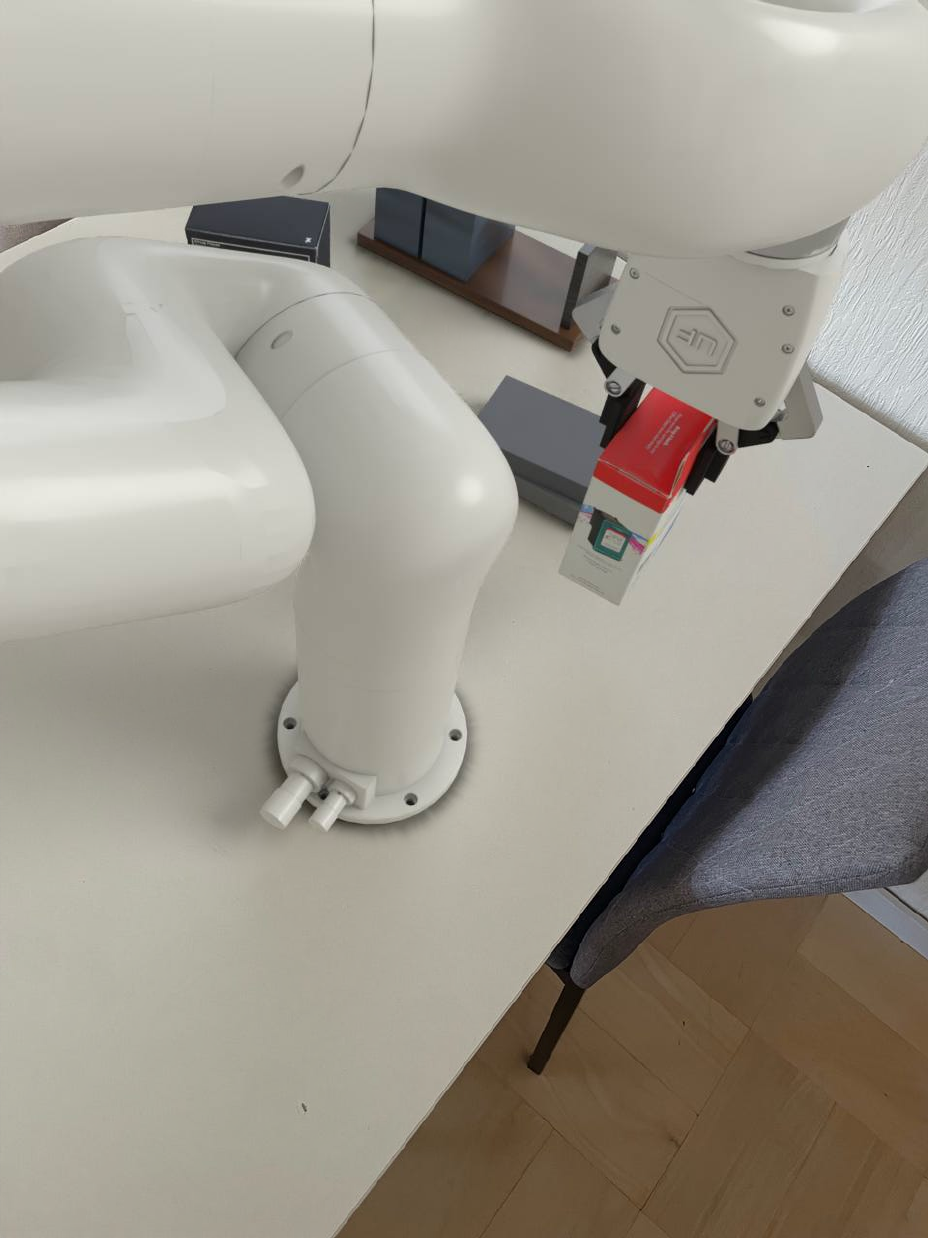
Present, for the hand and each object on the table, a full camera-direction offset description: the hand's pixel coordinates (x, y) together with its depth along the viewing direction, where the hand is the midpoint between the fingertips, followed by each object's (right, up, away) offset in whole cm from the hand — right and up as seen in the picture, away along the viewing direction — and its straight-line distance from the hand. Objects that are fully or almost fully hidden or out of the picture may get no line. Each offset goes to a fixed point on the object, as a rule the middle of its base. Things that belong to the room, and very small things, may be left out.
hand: (656, 454), depth 61 cm
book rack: (-9, +23, +34) cm, 42 cm away
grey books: (-5, +3, +22) cm, 23 cm away
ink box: (-1, -5, +8) cm, 10 cm away
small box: (-29, +16, +28) cm, 43 cm away
